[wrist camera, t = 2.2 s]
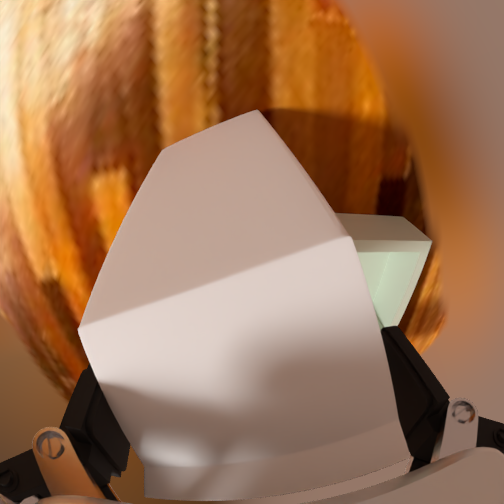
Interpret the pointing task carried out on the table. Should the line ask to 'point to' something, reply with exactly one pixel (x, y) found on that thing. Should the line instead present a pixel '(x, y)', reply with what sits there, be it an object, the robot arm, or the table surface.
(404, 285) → the crate
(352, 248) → the milk carton
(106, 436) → the robot arm
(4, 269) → the table surface
